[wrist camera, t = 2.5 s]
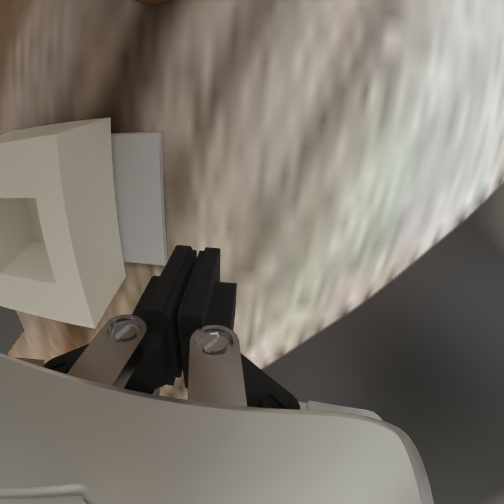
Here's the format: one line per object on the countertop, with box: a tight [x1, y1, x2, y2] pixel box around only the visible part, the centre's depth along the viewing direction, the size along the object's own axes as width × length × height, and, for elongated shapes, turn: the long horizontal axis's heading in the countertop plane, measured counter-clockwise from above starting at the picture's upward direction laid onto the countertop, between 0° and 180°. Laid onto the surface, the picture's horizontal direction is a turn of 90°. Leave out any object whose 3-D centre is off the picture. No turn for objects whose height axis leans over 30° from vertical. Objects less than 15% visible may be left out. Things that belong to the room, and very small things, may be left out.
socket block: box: [0, 118, 126, 329], centre depth 14 cm, size 10×8×5 cm
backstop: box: [0, 132, 168, 355], centre depth 14 cm, size 28×18×8 cm, turn 176°
